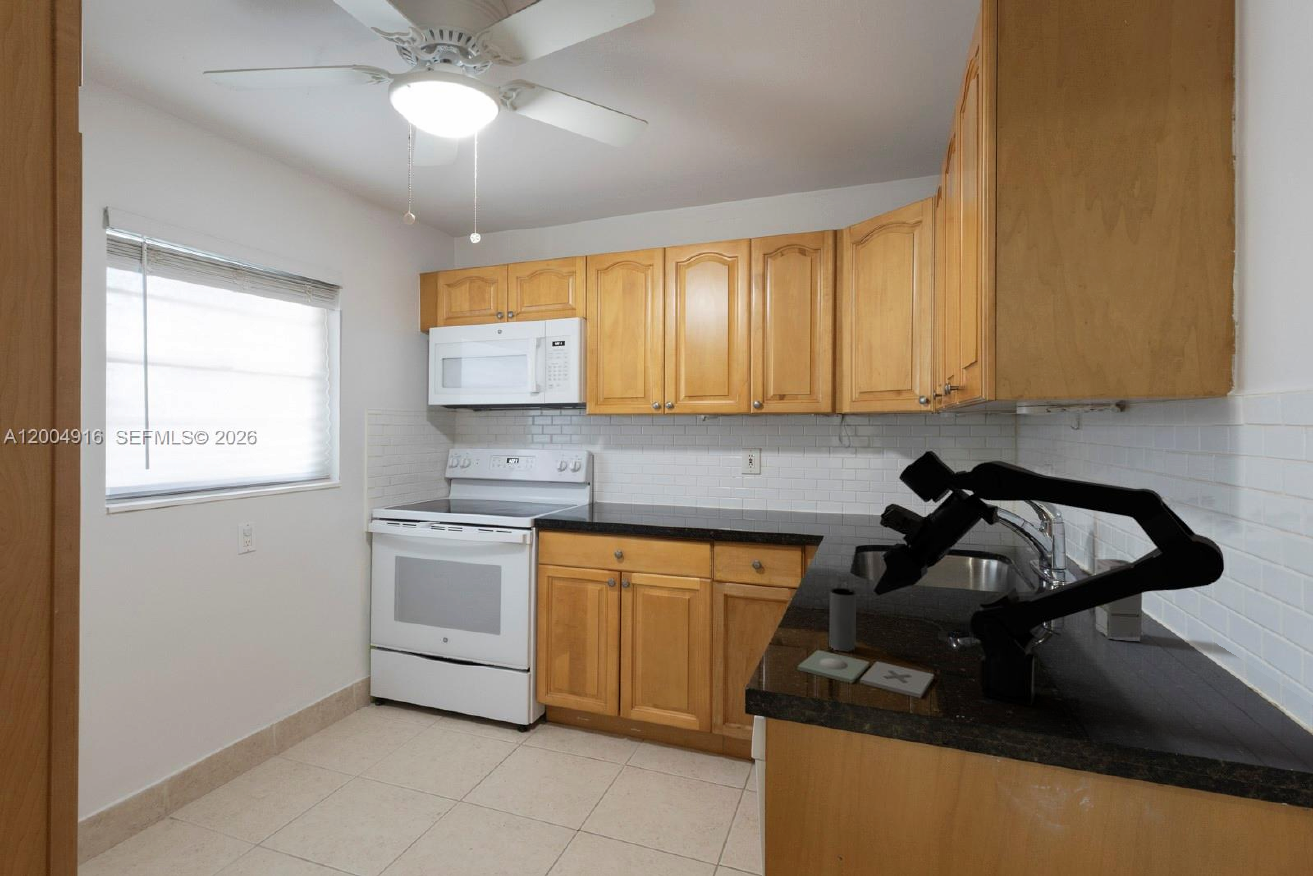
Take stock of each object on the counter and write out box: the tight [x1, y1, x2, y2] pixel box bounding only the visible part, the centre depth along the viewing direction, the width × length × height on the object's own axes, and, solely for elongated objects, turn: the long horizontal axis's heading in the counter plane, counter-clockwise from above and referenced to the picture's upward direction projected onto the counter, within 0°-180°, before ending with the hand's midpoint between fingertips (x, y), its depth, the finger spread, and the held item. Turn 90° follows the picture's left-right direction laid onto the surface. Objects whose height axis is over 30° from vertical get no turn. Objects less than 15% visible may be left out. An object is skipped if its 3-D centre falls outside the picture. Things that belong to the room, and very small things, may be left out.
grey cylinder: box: [828, 587, 857, 653], centre depth 114 cm, size 4×4×10 cm
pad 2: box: [859, 661, 935, 699], centre depth 100 cm, size 9×9×1 cm
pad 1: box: [797, 649, 870, 684], centre depth 105 cm, size 9×9×1 cm
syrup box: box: [1094, 558, 1143, 638], centre depth 122 cm, size 6×6×14 cm
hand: (884, 585), depth 108 cm, fingers open, 9 cm apart
